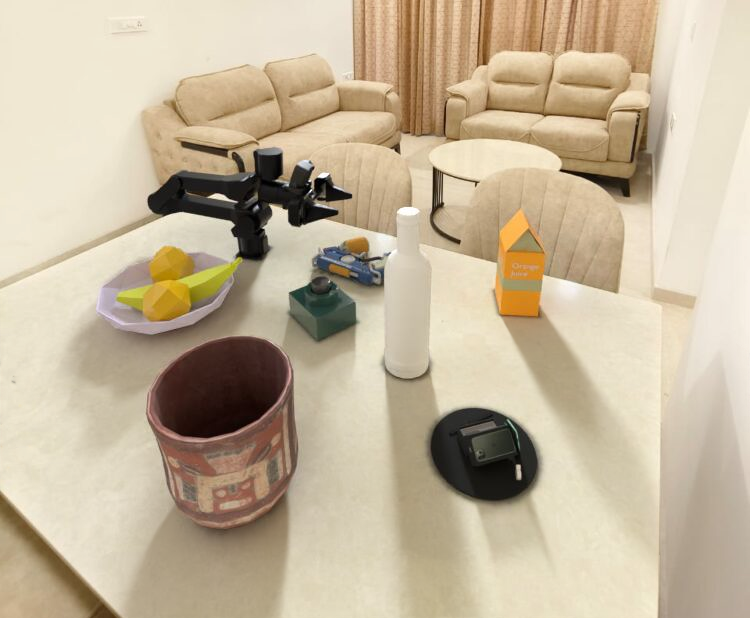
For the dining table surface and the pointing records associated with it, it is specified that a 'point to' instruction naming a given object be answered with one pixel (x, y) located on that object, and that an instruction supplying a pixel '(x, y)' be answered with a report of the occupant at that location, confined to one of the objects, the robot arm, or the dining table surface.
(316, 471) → the dining table surface
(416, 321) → the bottle
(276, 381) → the pottery
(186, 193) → the robot arm
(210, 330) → the dining table surface
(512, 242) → the orange juice
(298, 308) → the button housing
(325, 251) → the blue toy blaster
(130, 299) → the fruit bowl
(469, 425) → the black round electronic device
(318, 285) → the dark grey button cap
